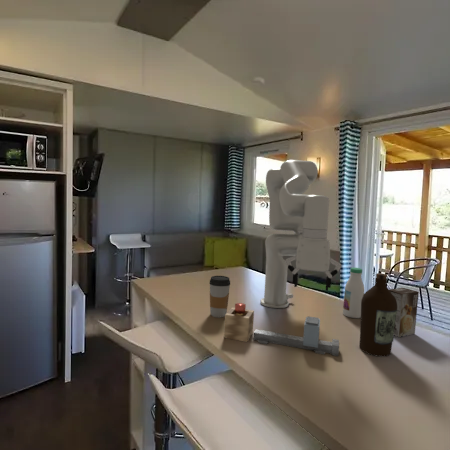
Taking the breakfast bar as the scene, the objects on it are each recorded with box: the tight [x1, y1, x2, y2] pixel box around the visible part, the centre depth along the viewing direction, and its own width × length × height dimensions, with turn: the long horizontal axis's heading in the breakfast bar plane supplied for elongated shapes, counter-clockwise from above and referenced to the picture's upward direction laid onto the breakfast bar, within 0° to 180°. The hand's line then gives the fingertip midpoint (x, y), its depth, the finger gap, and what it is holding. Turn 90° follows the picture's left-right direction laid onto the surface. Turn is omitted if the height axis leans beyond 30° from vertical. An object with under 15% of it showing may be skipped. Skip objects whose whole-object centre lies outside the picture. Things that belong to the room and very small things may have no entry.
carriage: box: [302, 315, 321, 348], centre depth 110 cm, size 4×7×8 cm, turn 162°
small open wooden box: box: [223, 307, 255, 343], centre depth 117 cm, size 8×8×8 cm
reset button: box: [234, 302, 247, 316], centre depth 117 cm, size 4×4×5 cm
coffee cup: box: [209, 275, 231, 318], centre depth 136 cm, size 8×8×15 cm
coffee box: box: [388, 287, 419, 338], centre depth 126 cm, size 9×6×16 cm
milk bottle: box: [342, 267, 365, 319], centre depth 142 cm, size 8×8×20 cm
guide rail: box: [252, 328, 340, 357], centre depth 112 cm, size 27×6×3 cm, turn 72°
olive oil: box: [359, 272, 397, 357], centre depth 110 cm, size 11×11×25 cm
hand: (311, 287), depth 109 cm, fingers open, 9 cm apart
